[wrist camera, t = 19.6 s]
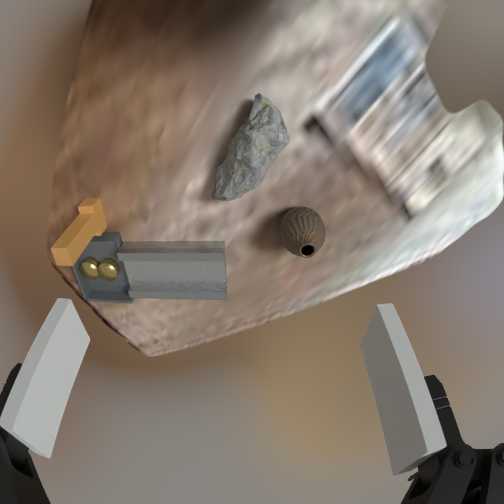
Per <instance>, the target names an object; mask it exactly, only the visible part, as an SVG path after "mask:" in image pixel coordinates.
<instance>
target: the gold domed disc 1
mask: <svg viewBox="0 0 504 504" xmlns="http://www.w3.org/2000/svg"><path fill="white" fill-rule="evenodd" d="M99 265H100V262H99V261H98V260H97V259H95V258H93V257H87V258H85V259H84V261H83V262H82V264H81V265H80V273H81V274H82V275H83V276H84V277H85V278H86V279H88V280H95V279H96V278H97V277H98V272H97V268H98V266H99Z"/></svg>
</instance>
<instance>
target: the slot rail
mask: <svg viewBox="0 0 504 504" xmlns="http://www.w3.org/2000/svg"><path fill="white" fill-rule="evenodd" d="M117 256H118V259H119V261H123V262H124V266H125V270H126V273H127V276H128V280H129V283H130V288H129V290H128V293H129V296H130V298H154V299H192V300H226V294H227V278H226V260H225V241H150V242H123V243H122V245H121V247H120V248H119V250H118V252H117Z"/></svg>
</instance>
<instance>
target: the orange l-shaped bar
mask: <svg viewBox="0 0 504 504" xmlns="http://www.w3.org/2000/svg"><path fill="white" fill-rule="evenodd" d="M78 210H79V215H78V216H77V217H76V218H75V220H74V221H73V222H72V223H71V224H70V225H69V227H68V228H67V229H66V230H65V231H64V232H63V234H62V235H61V236H60V237H59V239H58V240H57V241H56V242H55V243H54V245H53V246H52V247H51V251H52V254H53V256H54V259H55V261H56V264H57V266H74V264H75V263H76V261H77V260H78V258H79V257H80V255H81V254H82V252H83V251H84V249H85V248H86V246H87V245H88V244H89V242H90V241H91V239H92V238H93V236H101V235H102V233H103V232H104V230H105V229H106V228H107V224H106V220H105V216H104V212H103V208H102V203H101V199H100V197H98V198H87V199H85V200H84V201H83V202H82V203H81V204H80V205H79V206H78Z"/></svg>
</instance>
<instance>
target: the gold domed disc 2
mask: <svg viewBox="0 0 504 504" xmlns="http://www.w3.org/2000/svg"><path fill="white" fill-rule="evenodd" d="M119 271H120V266H119V264H118V263H117V262H116V261H115V260H114V259H111V258H104V259H103V260H102V261H101V263H100V265H99V266H98V268H97V272H98V275H99V276H100V277H101V278H102V279H103V280H105V281H109V282H111V281H114V280H115V279H116V277H117V275H118V273H119Z"/></svg>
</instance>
